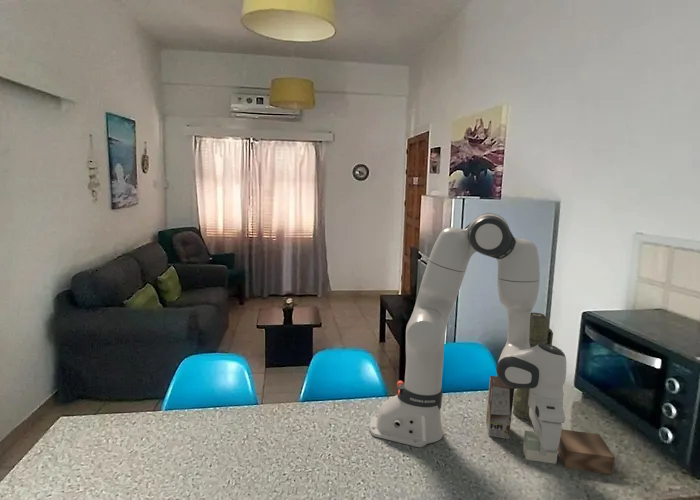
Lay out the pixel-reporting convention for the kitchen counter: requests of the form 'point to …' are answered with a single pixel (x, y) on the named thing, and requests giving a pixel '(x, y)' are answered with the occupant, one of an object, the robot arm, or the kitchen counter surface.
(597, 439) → the walnut stand
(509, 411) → the coffee box
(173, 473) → the kitchen counter surface
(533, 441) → the block
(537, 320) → the thermos
